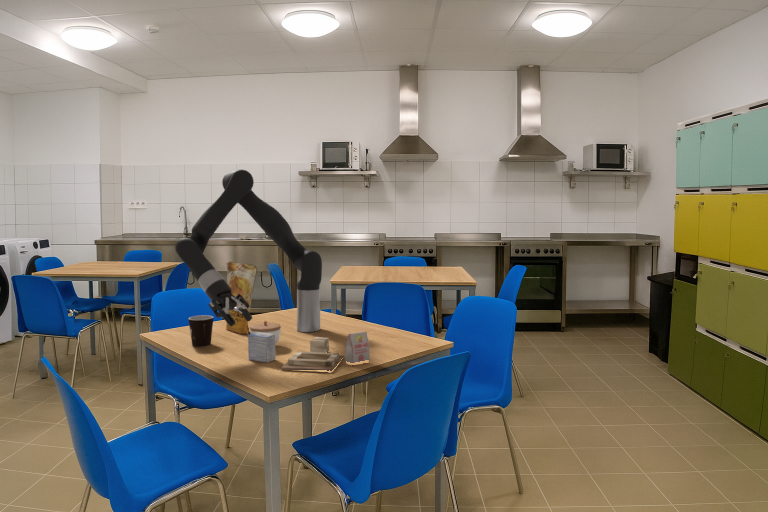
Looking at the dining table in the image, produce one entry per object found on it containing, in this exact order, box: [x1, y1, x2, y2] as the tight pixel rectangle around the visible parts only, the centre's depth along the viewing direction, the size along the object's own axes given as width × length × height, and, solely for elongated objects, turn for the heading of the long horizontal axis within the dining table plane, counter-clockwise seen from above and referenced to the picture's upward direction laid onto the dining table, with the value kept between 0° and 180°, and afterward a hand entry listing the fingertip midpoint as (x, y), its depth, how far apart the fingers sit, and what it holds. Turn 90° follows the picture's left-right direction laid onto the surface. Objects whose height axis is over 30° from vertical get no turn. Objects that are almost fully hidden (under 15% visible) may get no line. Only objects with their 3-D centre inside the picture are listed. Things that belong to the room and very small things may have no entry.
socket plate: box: [280, 350, 345, 371], centre depth 157 cm, size 16×16×2 cm
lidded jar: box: [249, 320, 282, 345], centre depth 178 cm, size 11×11×9 cm
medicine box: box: [247, 332, 277, 364], centre depth 161 cm, size 8×4×9 cm, turn 65°
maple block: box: [309, 336, 330, 353], centre depth 170 cm, size 5×5×5 cm
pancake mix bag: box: [225, 261, 258, 335], centre depth 201 cm, size 7×19×28 cm, turn 47°
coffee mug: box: [188, 314, 214, 348], centre depth 178 cm, size 12×9×10 cm
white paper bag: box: [345, 331, 370, 363], centre depth 159 cm, size 4×7×10 cm, turn 126°
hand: (242, 322), depth 164 cm, fingers open, 8 cm apart
